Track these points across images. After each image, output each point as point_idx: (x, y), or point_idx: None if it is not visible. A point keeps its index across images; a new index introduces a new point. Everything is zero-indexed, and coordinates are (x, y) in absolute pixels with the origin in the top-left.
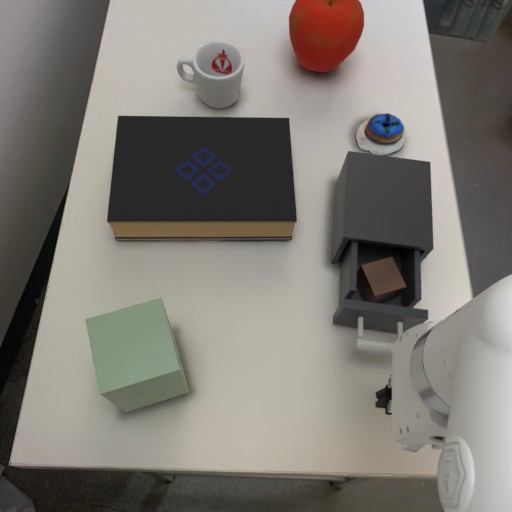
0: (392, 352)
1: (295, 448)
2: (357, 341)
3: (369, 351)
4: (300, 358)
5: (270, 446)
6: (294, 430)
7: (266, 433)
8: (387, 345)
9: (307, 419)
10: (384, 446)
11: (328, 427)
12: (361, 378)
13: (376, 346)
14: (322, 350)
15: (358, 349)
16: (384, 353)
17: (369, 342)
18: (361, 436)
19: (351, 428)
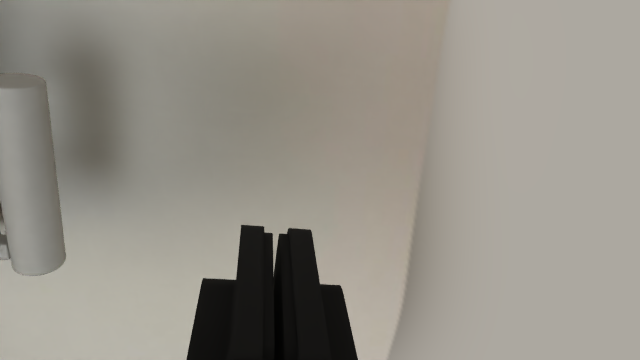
0: (37, 141)
1: (358, 306)
2: (26, 275)
3: (59, 218)
4: (135, 299)
5: None
6: None
7: None
8: (8, 167)
9: None
10: (369, 98)
11: None
12: (168, 148)
13: (27, 209)
14: (100, 249)
15: (60, 257)
16: (52, 164)
17: (16, 235)
18: (338, 160)
19: (316, 185)
